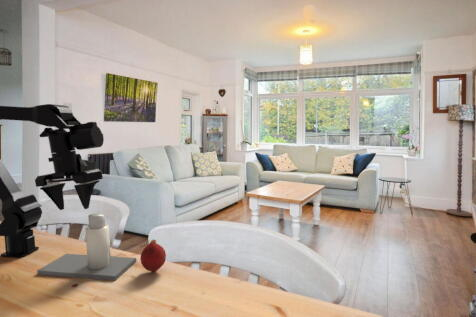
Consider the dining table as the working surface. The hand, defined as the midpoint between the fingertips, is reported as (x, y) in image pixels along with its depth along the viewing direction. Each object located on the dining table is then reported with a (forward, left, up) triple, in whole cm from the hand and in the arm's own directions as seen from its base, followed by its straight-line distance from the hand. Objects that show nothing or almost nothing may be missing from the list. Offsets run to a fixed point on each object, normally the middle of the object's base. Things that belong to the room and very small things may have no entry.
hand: (74, 209), depth 86 cm
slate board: (+8, -7, -13) cm, 17 cm away
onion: (+25, -7, -13) cm, 29 cm away
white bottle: (+11, -7, -12) cm, 18 cm away
